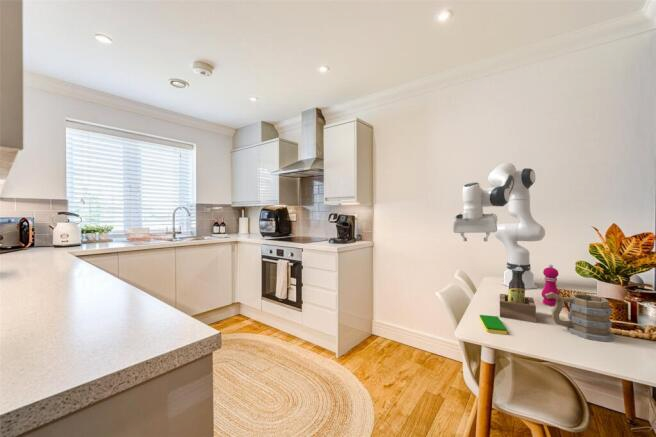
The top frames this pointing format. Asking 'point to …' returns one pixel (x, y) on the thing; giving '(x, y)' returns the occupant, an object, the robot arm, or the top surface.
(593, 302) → the tankard
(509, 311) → the socket
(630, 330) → the top surface
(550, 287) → the pepper mill
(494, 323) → the dish sponge
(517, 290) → the sauce bottle
